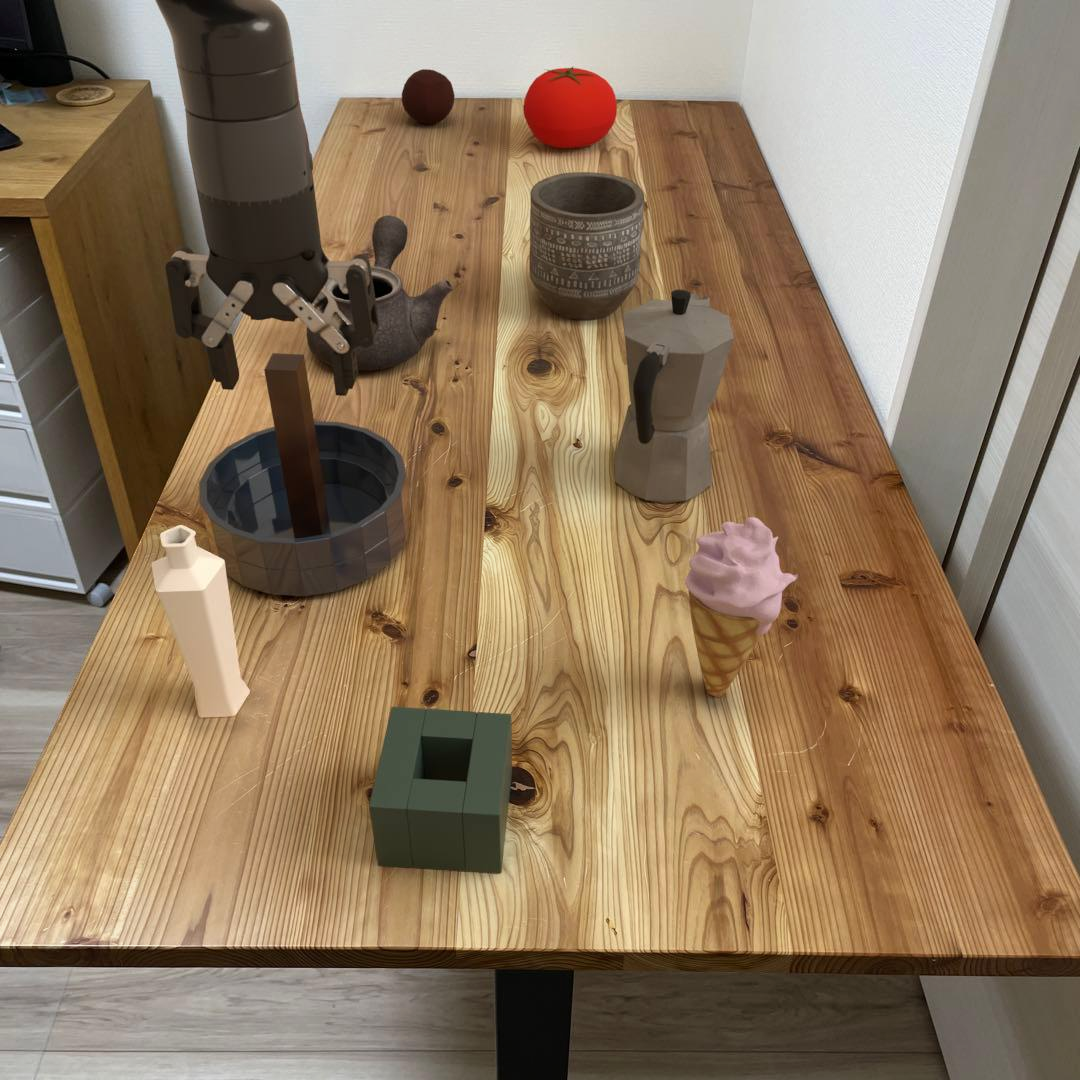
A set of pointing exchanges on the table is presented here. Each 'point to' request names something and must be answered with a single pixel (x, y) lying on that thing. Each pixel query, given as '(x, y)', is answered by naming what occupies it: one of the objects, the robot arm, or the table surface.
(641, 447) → the coffeepot
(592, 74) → the tomato
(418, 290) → the table surface
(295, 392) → the brown rectangular peg
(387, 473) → the bowl
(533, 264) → the planter
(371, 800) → the holder
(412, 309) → the teapot
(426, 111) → the dark brown ball
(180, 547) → the perfume bottle
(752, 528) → the ice cream cone
